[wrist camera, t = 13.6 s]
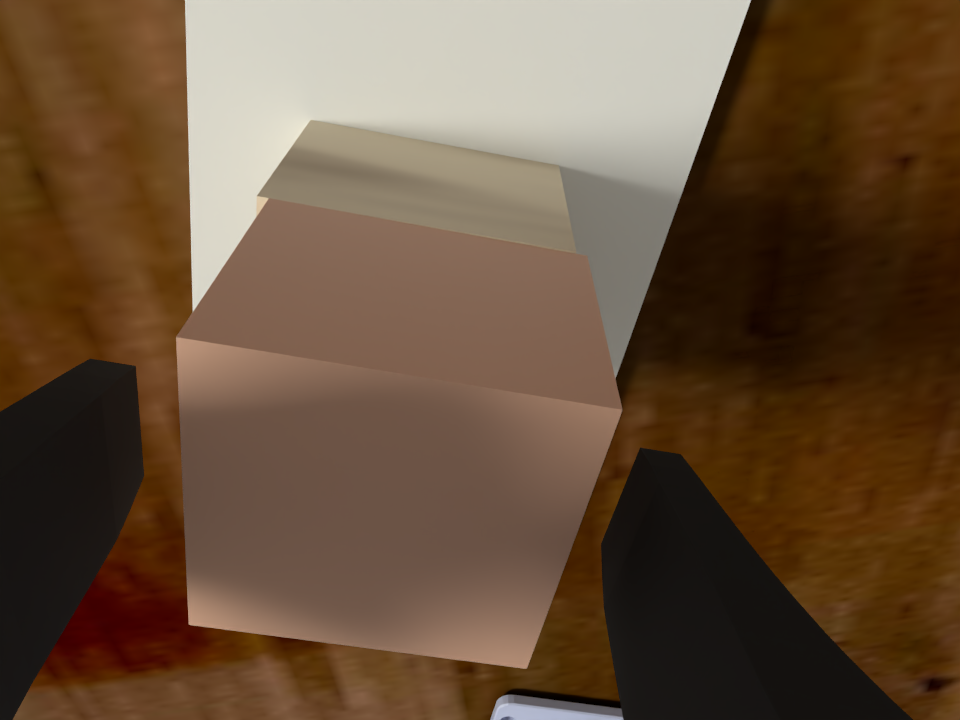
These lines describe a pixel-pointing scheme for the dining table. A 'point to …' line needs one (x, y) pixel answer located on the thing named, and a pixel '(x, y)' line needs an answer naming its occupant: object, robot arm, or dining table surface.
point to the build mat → (466, 107)
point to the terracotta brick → (389, 434)
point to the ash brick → (424, 185)
